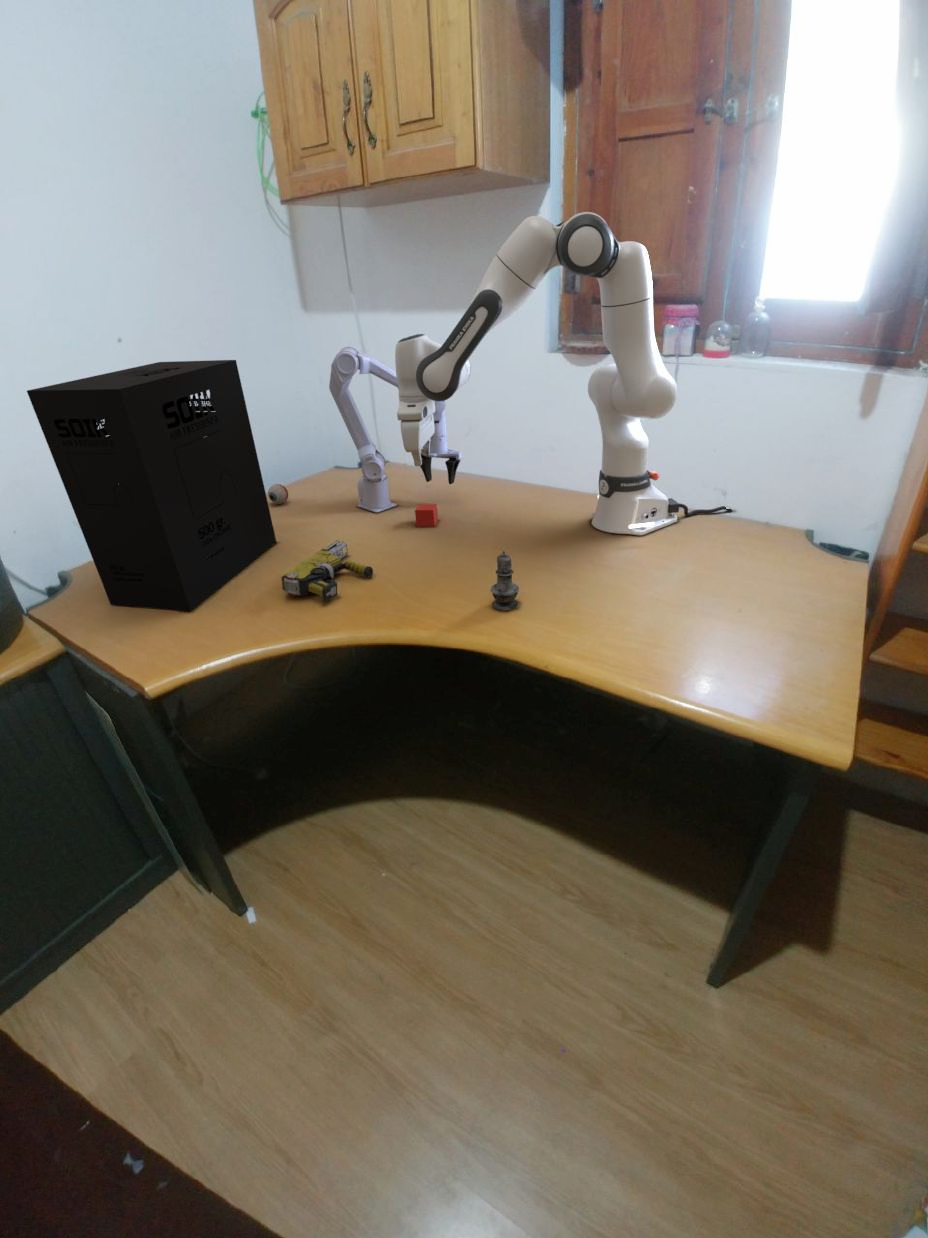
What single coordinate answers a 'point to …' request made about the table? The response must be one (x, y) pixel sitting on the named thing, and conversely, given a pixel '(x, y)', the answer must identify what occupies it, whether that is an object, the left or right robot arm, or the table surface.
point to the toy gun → (321, 572)
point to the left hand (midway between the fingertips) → (440, 481)
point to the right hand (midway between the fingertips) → (422, 460)
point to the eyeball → (278, 493)
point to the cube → (426, 515)
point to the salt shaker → (504, 585)
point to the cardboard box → (160, 478)
